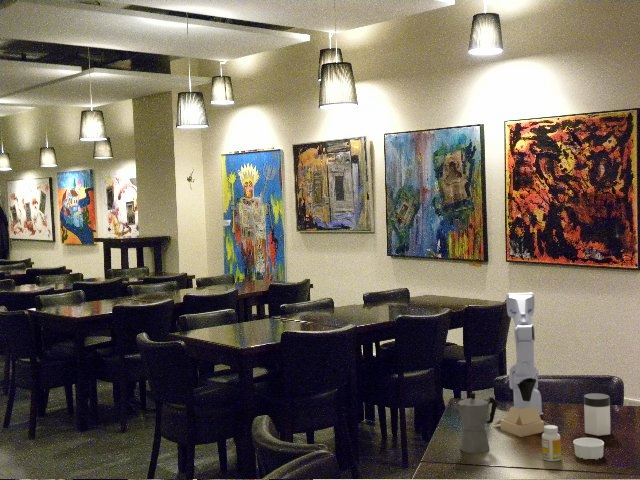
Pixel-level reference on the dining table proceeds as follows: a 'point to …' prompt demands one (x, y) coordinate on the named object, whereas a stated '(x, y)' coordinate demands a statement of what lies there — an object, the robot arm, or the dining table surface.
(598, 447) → the ramekin
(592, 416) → the jar
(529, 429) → the carton
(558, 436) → the supplement bottle
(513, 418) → the flap
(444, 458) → the dining table surface
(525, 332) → the robot arm
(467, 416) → the coffeepot
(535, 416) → the flap
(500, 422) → the flap
